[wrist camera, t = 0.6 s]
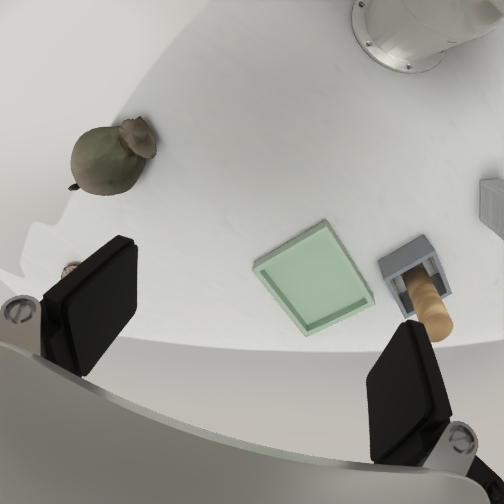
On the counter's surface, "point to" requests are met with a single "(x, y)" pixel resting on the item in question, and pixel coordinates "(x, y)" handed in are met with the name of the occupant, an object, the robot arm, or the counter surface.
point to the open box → (407, 260)
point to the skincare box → (492, 205)
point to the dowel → (427, 303)
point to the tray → (314, 280)
